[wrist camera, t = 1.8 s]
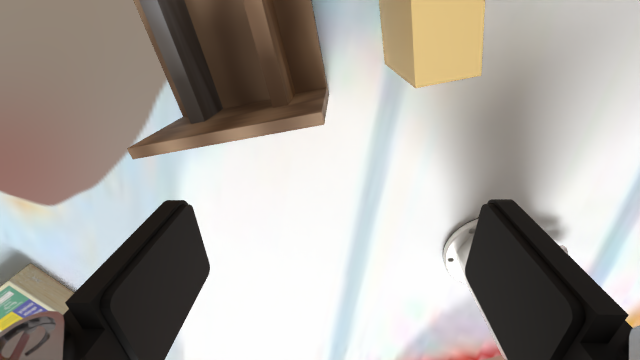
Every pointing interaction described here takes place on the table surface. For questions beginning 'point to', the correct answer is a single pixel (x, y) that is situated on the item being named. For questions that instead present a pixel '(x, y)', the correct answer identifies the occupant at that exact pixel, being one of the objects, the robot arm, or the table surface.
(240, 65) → the shelf
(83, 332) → the robot arm
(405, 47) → the ochre book
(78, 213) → the table surface
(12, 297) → the puzzle box
